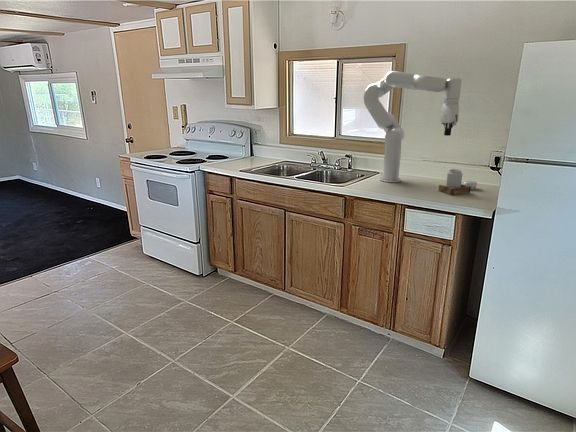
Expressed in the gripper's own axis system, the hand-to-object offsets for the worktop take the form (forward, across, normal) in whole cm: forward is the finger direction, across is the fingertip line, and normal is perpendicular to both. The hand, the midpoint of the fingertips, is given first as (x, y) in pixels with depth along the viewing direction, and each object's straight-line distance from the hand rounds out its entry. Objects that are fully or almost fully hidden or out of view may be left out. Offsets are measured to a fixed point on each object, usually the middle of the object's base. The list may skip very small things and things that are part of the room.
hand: (447, 135), depth 222 cm
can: (+29, +16, -5) cm, 33 cm away
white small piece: (+29, +14, +8) cm, 33 cm away
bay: (+29, +16, -5) cm, 33 cm away
